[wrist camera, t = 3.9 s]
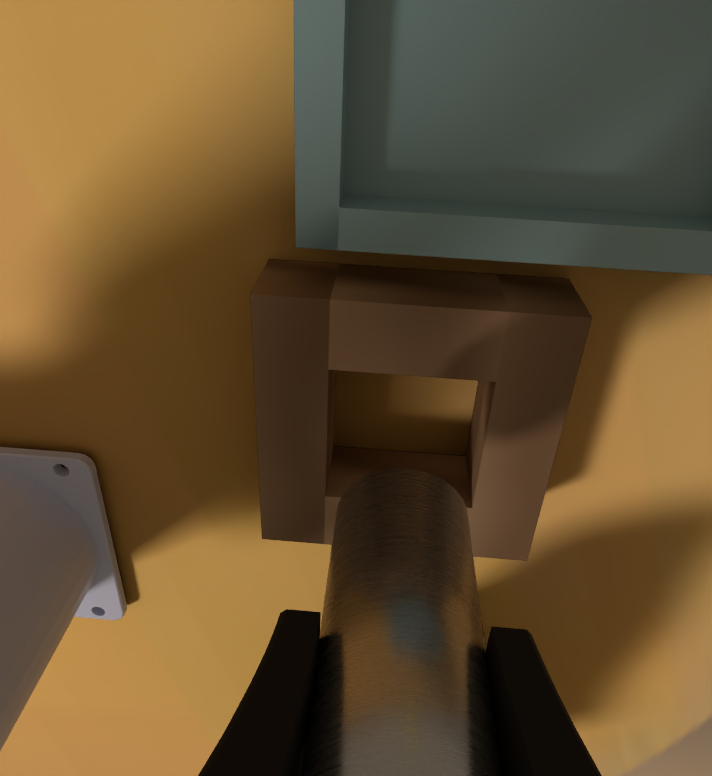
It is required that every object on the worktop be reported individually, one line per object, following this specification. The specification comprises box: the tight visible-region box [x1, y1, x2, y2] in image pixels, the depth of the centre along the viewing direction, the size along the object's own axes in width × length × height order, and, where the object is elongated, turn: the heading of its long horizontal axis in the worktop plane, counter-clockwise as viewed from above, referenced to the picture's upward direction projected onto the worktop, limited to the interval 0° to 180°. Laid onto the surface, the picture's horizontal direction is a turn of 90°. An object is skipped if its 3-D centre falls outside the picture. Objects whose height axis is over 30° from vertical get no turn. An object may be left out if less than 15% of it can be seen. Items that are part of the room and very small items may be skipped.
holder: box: [250, 259, 592, 561], centre depth 18 cm, size 8×8×2 cm
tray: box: [294, 0, 712, 275], centre depth 13 cm, size 11×8×2 cm
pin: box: [301, 468, 501, 776], centre depth 10 cm, size 3×3×9 cm
